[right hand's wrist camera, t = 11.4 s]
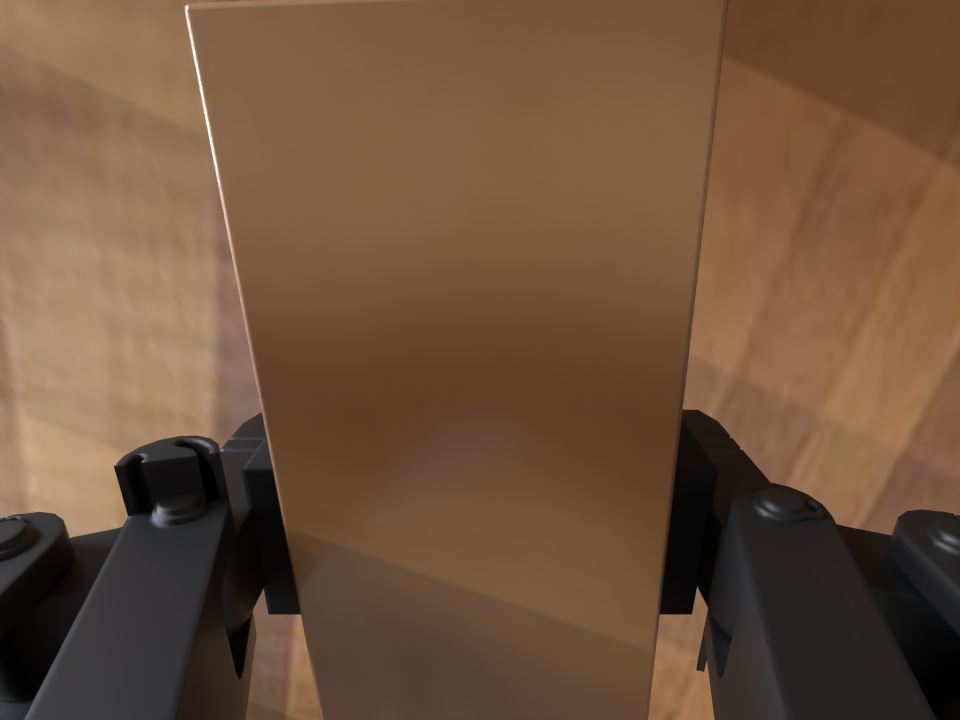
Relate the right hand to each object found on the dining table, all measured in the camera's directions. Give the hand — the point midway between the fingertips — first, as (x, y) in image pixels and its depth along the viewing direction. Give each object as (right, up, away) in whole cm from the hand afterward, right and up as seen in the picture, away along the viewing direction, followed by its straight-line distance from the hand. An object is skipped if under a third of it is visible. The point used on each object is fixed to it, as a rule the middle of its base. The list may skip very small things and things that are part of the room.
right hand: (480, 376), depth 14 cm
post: (+1, -20, +8) cm, 22 cm away
